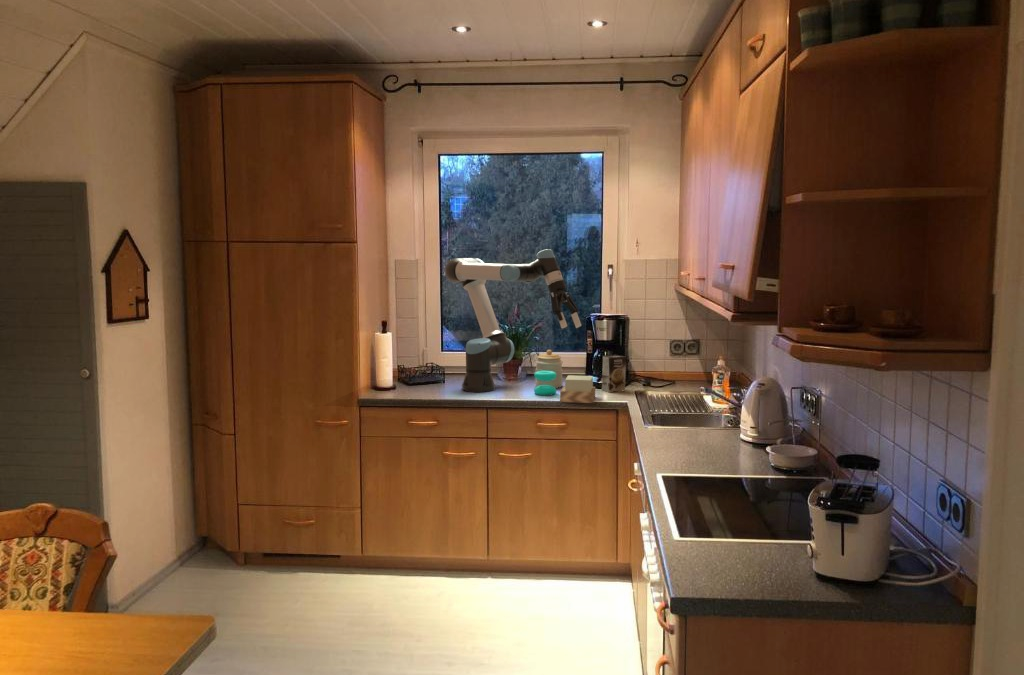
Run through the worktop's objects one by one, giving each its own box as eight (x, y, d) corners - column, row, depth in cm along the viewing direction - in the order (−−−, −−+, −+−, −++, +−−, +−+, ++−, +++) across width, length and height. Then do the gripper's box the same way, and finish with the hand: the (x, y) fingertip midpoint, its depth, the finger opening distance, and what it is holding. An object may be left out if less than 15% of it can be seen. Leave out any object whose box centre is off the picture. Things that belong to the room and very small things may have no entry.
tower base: (560, 402, 332) (560, 391, 331) (563, 396, 345) (564, 385, 345) (592, 404, 329) (592, 392, 329) (595, 397, 343) (595, 386, 342)
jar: (539, 389, 361) (539, 351, 359) (532, 384, 373) (532, 348, 371) (566, 388, 364) (566, 351, 362) (558, 383, 376) (558, 347, 374)
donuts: (547, 369, 356) (560, 372, 348) (546, 390, 357) (560, 394, 349) (529, 371, 350) (543, 374, 342) (529, 393, 351) (543, 396, 343)
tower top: (565, 391, 332) (565, 379, 331) (567, 386, 343) (568, 375, 342) (590, 391, 330) (590, 380, 329) (592, 387, 341) (592, 376, 340)
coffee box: (609, 392, 353) (610, 357, 351) (601, 390, 359) (602, 355, 357) (625, 390, 357) (626, 356, 355) (617, 388, 363) (618, 354, 361)
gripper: (548, 278, 330) (565, 324, 326) (575, 280, 351) (591, 323, 347) (534, 285, 334) (551, 330, 330) (561, 287, 355) (577, 329, 351)
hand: (571, 327), depth 339 cm, fingers open, 13 cm apart
